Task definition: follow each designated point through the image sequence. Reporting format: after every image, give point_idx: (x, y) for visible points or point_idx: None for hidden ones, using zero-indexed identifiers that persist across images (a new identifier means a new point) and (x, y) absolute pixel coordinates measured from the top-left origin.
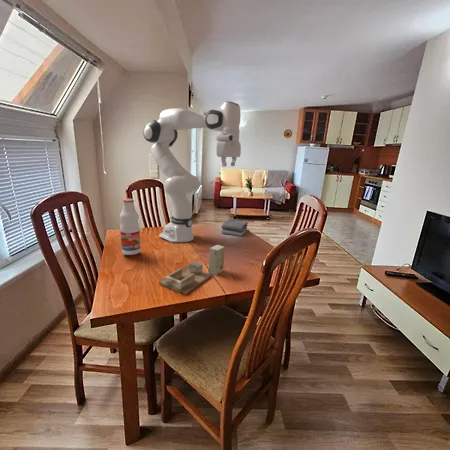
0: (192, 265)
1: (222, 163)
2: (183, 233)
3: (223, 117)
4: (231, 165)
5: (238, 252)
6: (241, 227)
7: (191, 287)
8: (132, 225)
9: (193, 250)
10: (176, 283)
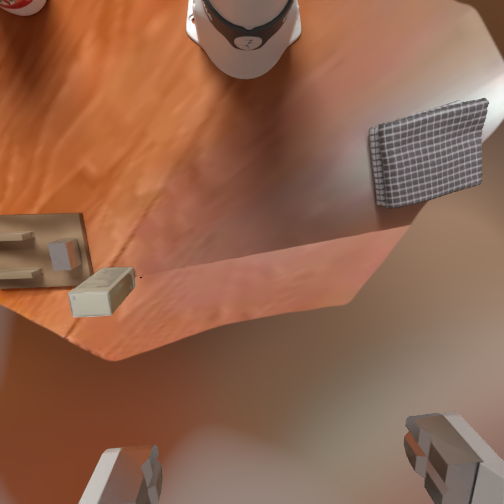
0: (50, 252)
1: (85, 497)
2: (217, 48)
3: None
4: (410, 428)
5: (253, 260)
6: (397, 203)
7: (17, 285)
8: None
9: (177, 150)
10: None
